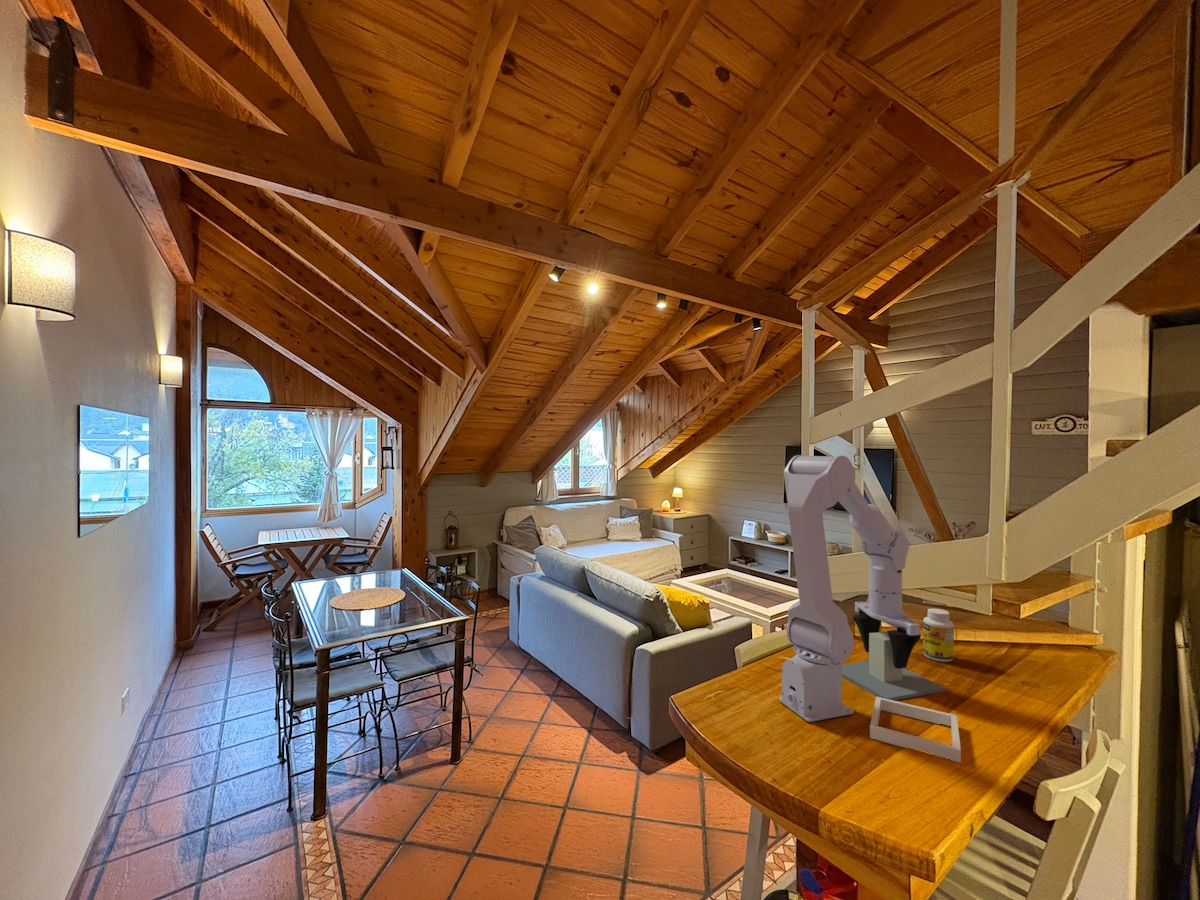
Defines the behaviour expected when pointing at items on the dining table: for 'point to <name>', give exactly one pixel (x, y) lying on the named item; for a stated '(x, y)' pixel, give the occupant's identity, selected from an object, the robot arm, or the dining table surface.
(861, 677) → the mat
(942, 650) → the supplement bottle
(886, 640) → the block
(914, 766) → the dining table surface
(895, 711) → the rectangular frame
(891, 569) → the robot arm
